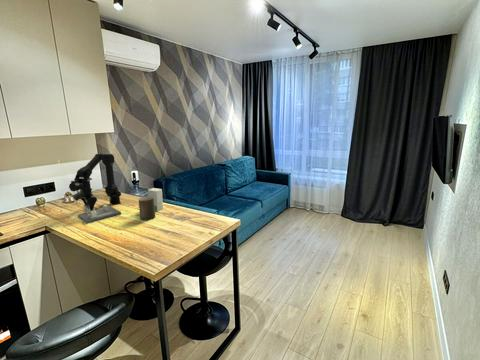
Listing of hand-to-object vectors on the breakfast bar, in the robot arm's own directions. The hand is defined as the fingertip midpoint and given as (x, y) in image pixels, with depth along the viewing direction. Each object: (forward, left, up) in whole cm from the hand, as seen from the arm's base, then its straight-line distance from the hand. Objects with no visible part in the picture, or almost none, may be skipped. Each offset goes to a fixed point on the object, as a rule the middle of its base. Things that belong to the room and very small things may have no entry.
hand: (89, 209), depth 181 cm
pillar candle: (-24, +36, -5) cm, 43 cm away
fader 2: (-9, +5, -2) cm, 10 cm away
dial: (0, 0, -2) cm, 2 cm away
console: (-4, +7, -4) cm, 9 cm away
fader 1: (+1, +12, -2) cm, 12 cm away
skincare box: (-36, +26, -5) cm, 45 cm away
